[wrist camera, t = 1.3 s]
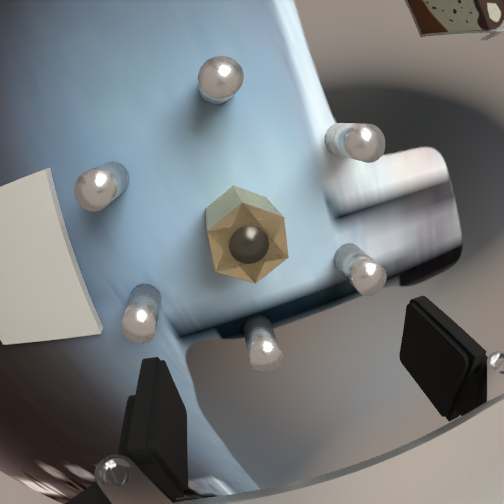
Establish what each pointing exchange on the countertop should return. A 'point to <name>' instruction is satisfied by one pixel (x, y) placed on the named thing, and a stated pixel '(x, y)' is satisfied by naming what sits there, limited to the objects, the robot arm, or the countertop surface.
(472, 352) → the robot arm
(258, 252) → the faceted candle holder
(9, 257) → the mat
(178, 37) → the countertop surface
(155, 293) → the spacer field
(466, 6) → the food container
